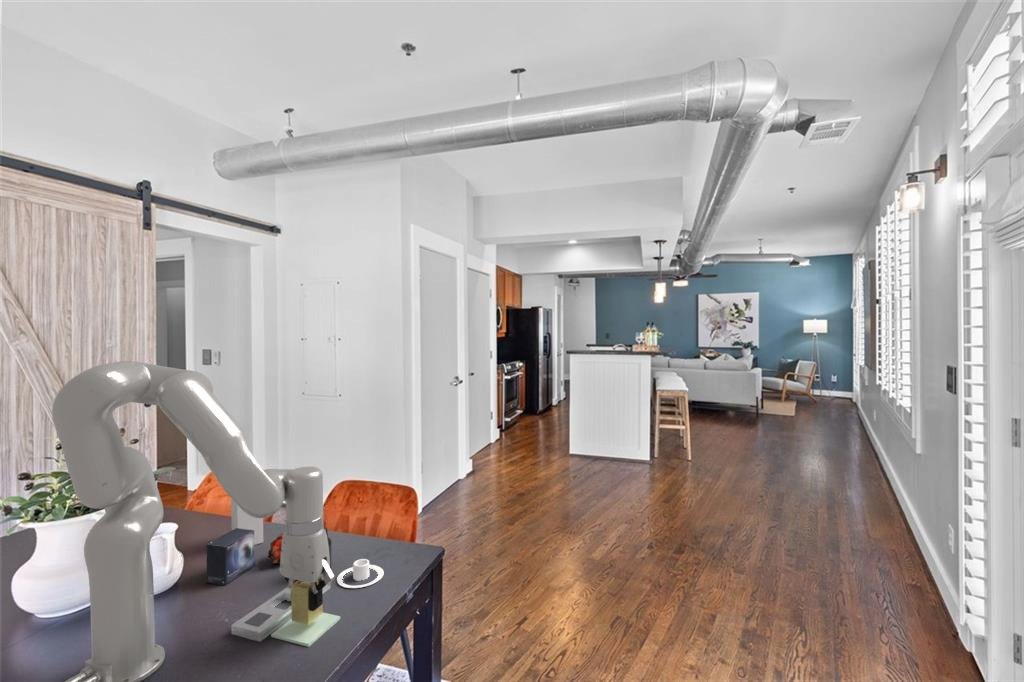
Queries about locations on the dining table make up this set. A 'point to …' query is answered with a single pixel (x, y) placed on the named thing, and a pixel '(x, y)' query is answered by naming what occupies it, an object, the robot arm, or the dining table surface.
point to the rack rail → (265, 617)
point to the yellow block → (303, 603)
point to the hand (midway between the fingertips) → (307, 604)
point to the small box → (230, 556)
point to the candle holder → (360, 573)
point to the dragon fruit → (276, 549)
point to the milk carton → (246, 522)
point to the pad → (305, 630)
